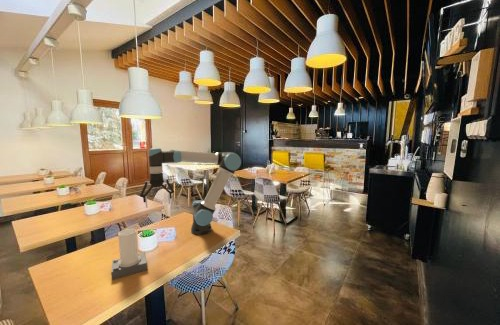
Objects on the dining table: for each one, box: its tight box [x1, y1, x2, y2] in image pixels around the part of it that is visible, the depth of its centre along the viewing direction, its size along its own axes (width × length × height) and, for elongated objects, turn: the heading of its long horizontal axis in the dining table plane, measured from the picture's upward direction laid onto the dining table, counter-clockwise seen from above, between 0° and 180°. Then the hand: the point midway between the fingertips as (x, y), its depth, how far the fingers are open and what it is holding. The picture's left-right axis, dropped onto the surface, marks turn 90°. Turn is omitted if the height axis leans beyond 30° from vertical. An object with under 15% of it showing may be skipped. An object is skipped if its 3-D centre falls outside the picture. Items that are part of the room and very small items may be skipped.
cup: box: [117, 228, 139, 265], centre depth 115 cm, size 8×8×16 cm
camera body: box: [110, 252, 148, 281], centre depth 116 cm, size 16×12×5 cm
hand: (158, 205), depth 140 cm, fingers open, 13 cm apart
